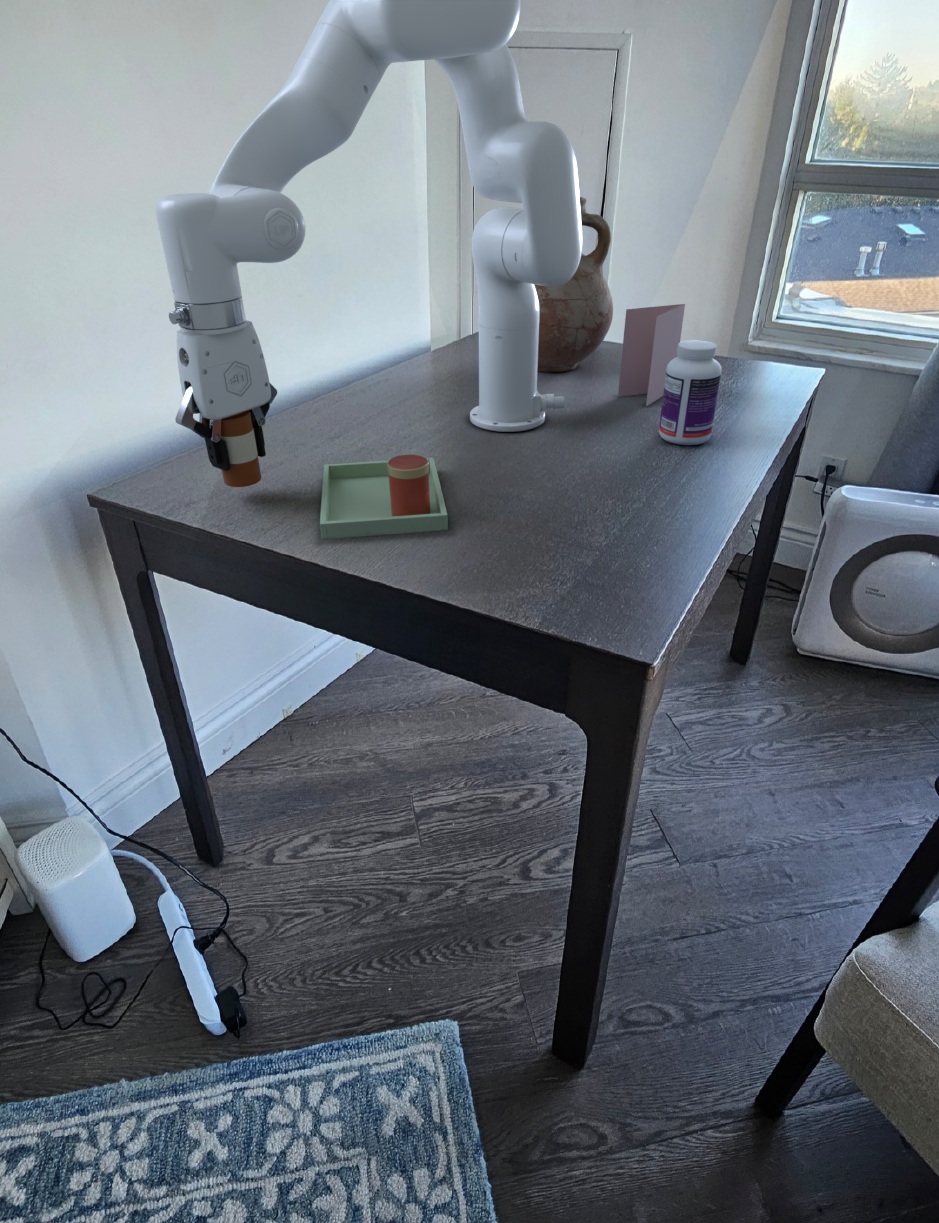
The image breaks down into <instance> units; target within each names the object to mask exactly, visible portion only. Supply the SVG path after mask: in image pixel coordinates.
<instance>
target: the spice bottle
mask: <svg viewBox="0 0 939 1223" xmlns="http://www.w3.org/2000/svg"><path fill="white" fill-rule="evenodd" d="M221 439H222V440H225V441H226V445H227V450H228V455H229V460H230V465H231V468H230V470H228V471H224V470H221V474H222V478H223V482H224V483H223V484H224V485H226V486H228V487H231V488H245V487H250V486H253V485H255V484H257V483H259V482H261V480H262V473H261V472H262V471H261V467H260V466H261V465H260V462H259V456H258V452H257V447H256V441H255V435H254V429H253V426H252V420H251V415H250V411H249V410H248V411H245V412H242V413H239V414H236V415H233V416H230V417H226V418H223V419H222V420H221Z"/></svg>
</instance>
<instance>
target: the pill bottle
mask: <svg viewBox="0 0 939 1223" xmlns="http://www.w3.org/2000/svg"><path fill="white" fill-rule="evenodd" d="M717 347H718V346H717V344H716V343H714V342H711V341H707V340H700V339H699V340H698V339H689V340H688V339H687V340H682V341H680V343H679V344H678V348H677V355H678V357H676V358H674V359H672V360H671V361H670V362H669V363H668V365H667V369H666V377H665V385H664V393H663V396H662V403H661V410H660V417H659V426H658V433H659V436H660V437H661V438H662V439H663V440H664V441H666V442H667V443H671V444H674V445H681V446H696V445H701V444H704V443H706V442H707V441H708V440H710V438H711V436H712V432H713V426H714V420H715V416H716V415H715V414H716V407H717V402H718V396H719V390H720V383H721V377H722V365H721V364H720V362H719V361H718V360H717V359H714V358H715V356H716V354H717V353H716V352H717Z"/></svg>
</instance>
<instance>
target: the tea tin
mask: <svg viewBox="0 0 939 1223" xmlns="http://www.w3.org/2000/svg"><path fill="white" fill-rule="evenodd" d="M427 458H428V457H425V456H423V455H419V454H409V453H408V454H401V455H396V456H393V457H391V458H389V459H388V460H387V461H388V462H387V467H388V475H389V488H390V501H391V514H392V517H393V516H407V515H422V514H430V491H429V461H428V459H427Z"/></svg>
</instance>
